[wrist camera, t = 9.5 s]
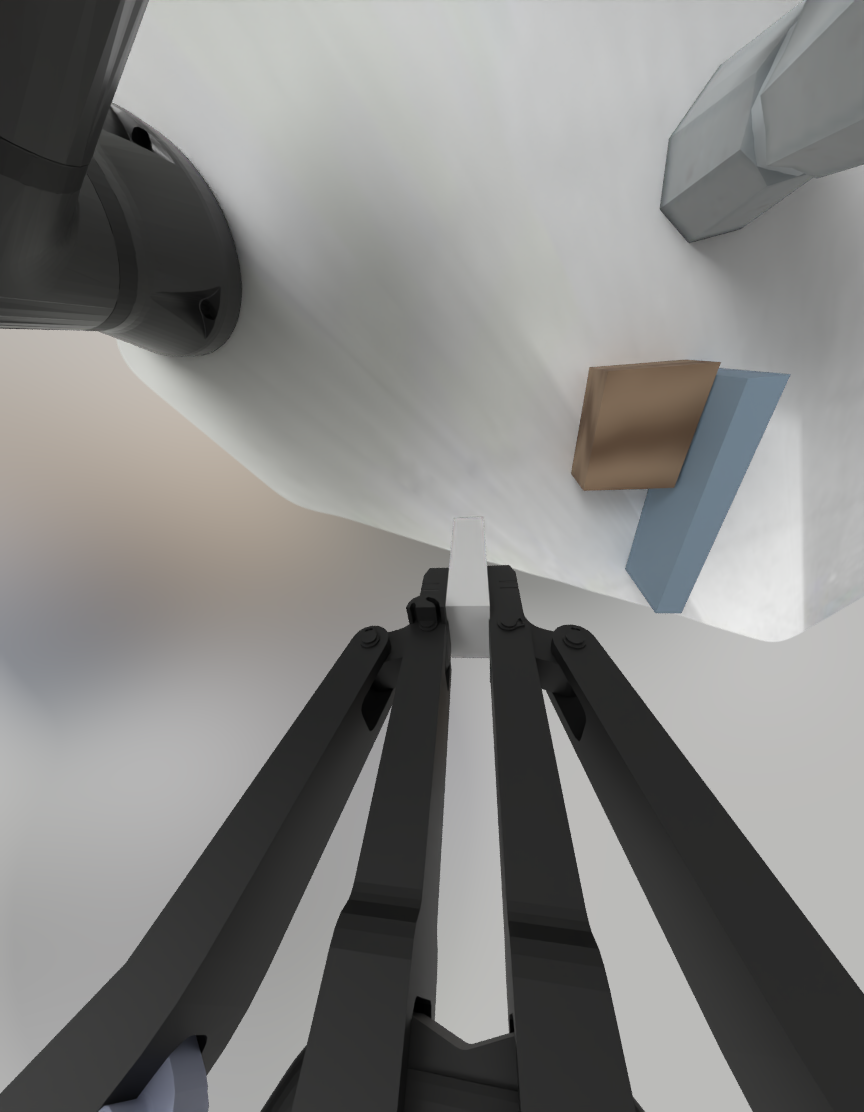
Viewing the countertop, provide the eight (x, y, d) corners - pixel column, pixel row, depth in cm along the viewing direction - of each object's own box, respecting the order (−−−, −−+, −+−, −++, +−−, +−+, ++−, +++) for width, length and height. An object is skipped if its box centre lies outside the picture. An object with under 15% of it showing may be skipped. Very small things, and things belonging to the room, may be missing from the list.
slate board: (682, 370, 28) (748, 378, 21) (714, 367, 27) (790, 374, 21) (625, 569, 40) (655, 613, 33) (646, 568, 40) (681, 613, 33)
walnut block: (588, 367, 29) (607, 371, 25) (684, 359, 28) (720, 362, 23) (570, 473, 34) (583, 490, 30) (649, 470, 33) (674, 487, 29)
